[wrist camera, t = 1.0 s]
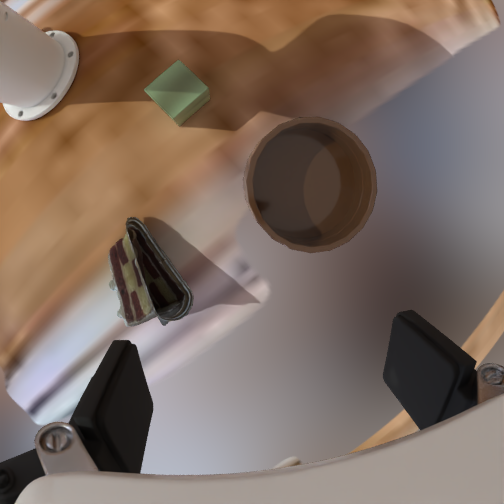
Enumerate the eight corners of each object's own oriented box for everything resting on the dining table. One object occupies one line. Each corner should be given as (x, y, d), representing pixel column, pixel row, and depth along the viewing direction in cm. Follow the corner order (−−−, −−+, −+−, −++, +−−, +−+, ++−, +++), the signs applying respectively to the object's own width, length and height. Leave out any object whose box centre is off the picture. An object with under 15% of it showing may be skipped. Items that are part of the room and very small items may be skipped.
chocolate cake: (90, 241, 32) (92, 340, 26) (126, 210, 30) (133, 318, 24) (146, 265, 40) (158, 349, 34) (183, 241, 38) (201, 332, 32)
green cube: (153, 100, 29) (143, 89, 24) (183, 73, 28) (178, 59, 24) (179, 126, 30) (172, 119, 26) (210, 99, 29) (208, 88, 25)
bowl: (217, 178, 32) (216, 179, 27) (306, 102, 30) (320, 91, 26) (296, 264, 35) (308, 278, 30) (376, 190, 34) (398, 193, 29)
